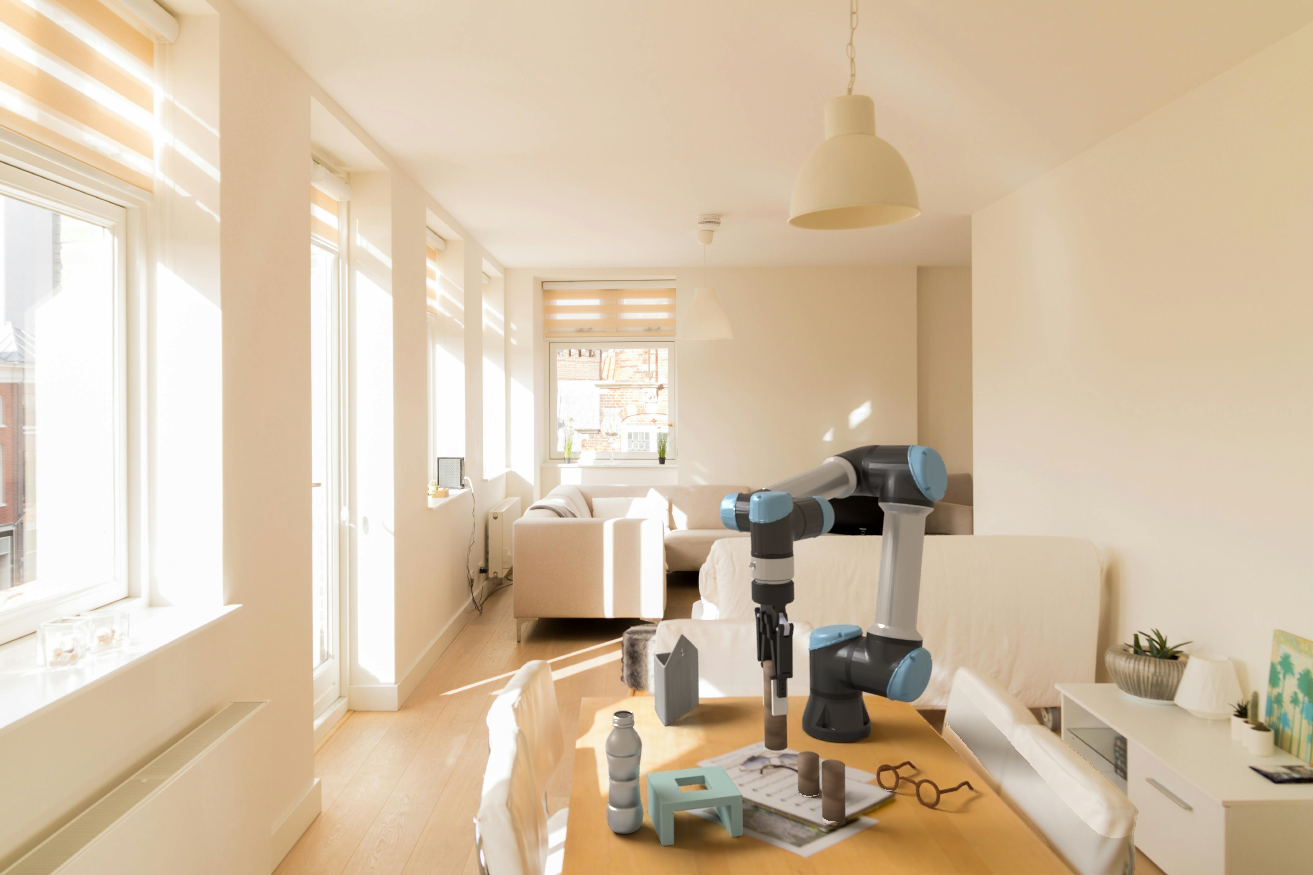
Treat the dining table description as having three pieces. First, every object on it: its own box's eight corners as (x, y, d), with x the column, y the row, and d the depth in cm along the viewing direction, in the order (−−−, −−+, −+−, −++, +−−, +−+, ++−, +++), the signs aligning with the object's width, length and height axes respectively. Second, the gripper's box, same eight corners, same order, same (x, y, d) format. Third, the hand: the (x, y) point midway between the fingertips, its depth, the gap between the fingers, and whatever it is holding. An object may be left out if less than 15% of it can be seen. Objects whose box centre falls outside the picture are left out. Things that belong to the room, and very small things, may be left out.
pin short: (814, 786, 155) (814, 750, 155) (823, 795, 151) (822, 758, 151) (794, 788, 154) (794, 752, 154) (803, 798, 151) (802, 761, 150)
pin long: (782, 740, 148) (780, 658, 147) (790, 749, 144) (789, 665, 143) (761, 742, 147) (759, 660, 146) (769, 751, 143) (767, 667, 142)
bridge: (722, 802, 149) (721, 764, 149) (742, 835, 138) (742, 794, 137) (647, 811, 146) (647, 773, 146) (662, 845, 135) (661, 804, 134)
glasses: (875, 788, 155) (875, 762, 155) (913, 768, 163) (913, 743, 163) (937, 813, 145) (937, 785, 145) (975, 790, 153) (975, 764, 153)
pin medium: (839, 813, 145) (839, 758, 144) (849, 824, 141) (849, 767, 140) (818, 816, 144) (817, 760, 143) (827, 827, 140) (827, 770, 140)
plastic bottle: (611, 841, 136) (609, 723, 136) (602, 822, 143) (600, 709, 142) (648, 835, 138) (646, 718, 137) (638, 816, 145) (636, 705, 144)
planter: (671, 698, 204) (670, 622, 204) (699, 704, 200) (698, 626, 200) (637, 720, 190) (636, 638, 190) (666, 726, 186) (665, 642, 186)
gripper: (737, 571, 151) (740, 694, 152) (769, 591, 135) (772, 729, 136) (775, 568, 153) (778, 690, 154) (811, 587, 136) (814, 724, 137)
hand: (775, 708), depth 145 cm, fingers closed on pin long, 4 cm apart
